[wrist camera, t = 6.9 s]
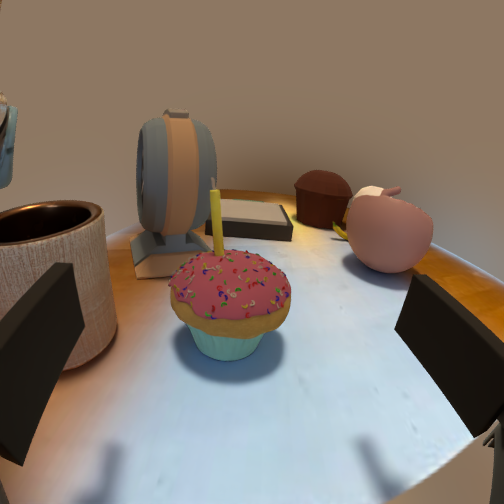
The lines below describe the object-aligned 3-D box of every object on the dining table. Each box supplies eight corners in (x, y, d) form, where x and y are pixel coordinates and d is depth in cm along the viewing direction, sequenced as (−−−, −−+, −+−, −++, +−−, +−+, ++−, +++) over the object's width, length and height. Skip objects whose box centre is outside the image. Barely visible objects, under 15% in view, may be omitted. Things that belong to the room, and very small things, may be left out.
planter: (73, 286, 26) (61, 194, 23) (145, 329, 22) (136, 211, 18) (-12, 330, 17) (-42, 225, 13) (40, 403, 13) (-15, 264, 9)
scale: (205, 234, 44) (206, 215, 43) (213, 211, 57) (214, 196, 56) (291, 241, 45) (293, 222, 44) (280, 216, 58) (282, 201, 57)
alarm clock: (129, 237, 40) (130, 112, 34) (192, 232, 44) (199, 114, 38) (137, 284, 29) (137, 101, 22) (226, 274, 33) (239, 107, 26)
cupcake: (149, 345, 20) (139, 180, 16) (213, 300, 27) (220, 169, 23) (250, 398, 17) (276, 205, 12) (298, 332, 24) (326, 187, 19)
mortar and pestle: (418, 266, 40) (436, 194, 36) (419, 299, 31) (446, 205, 26) (348, 245, 46) (361, 175, 41) (328, 271, 36) (345, 179, 32)
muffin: (357, 227, 57) (366, 178, 53) (324, 234, 50) (333, 177, 46) (313, 211, 65) (319, 167, 61) (277, 215, 58) (283, 165, 54)
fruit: (365, 241, 49) (369, 224, 48) (368, 243, 48) (371, 226, 47) (328, 237, 49) (331, 220, 48) (330, 239, 48) (333, 222, 46)
